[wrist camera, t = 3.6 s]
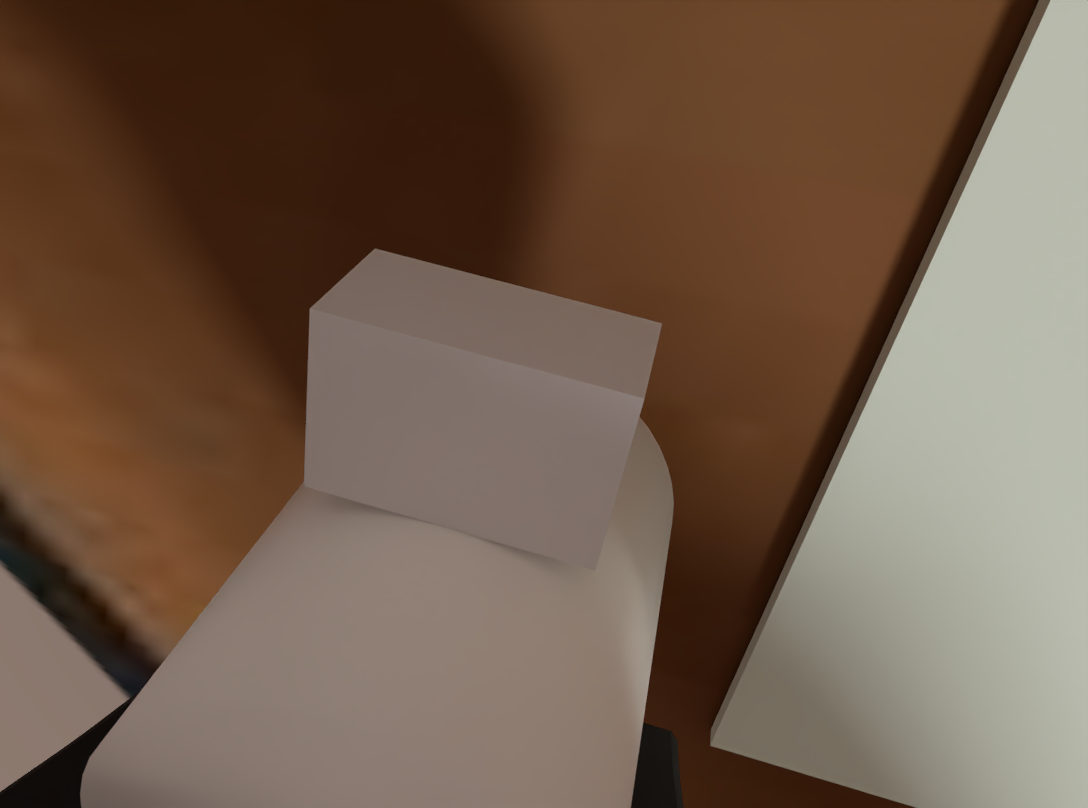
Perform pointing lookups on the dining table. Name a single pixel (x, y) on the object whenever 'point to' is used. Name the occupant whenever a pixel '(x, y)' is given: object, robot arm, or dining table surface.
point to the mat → (956, 498)
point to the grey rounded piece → (430, 571)
